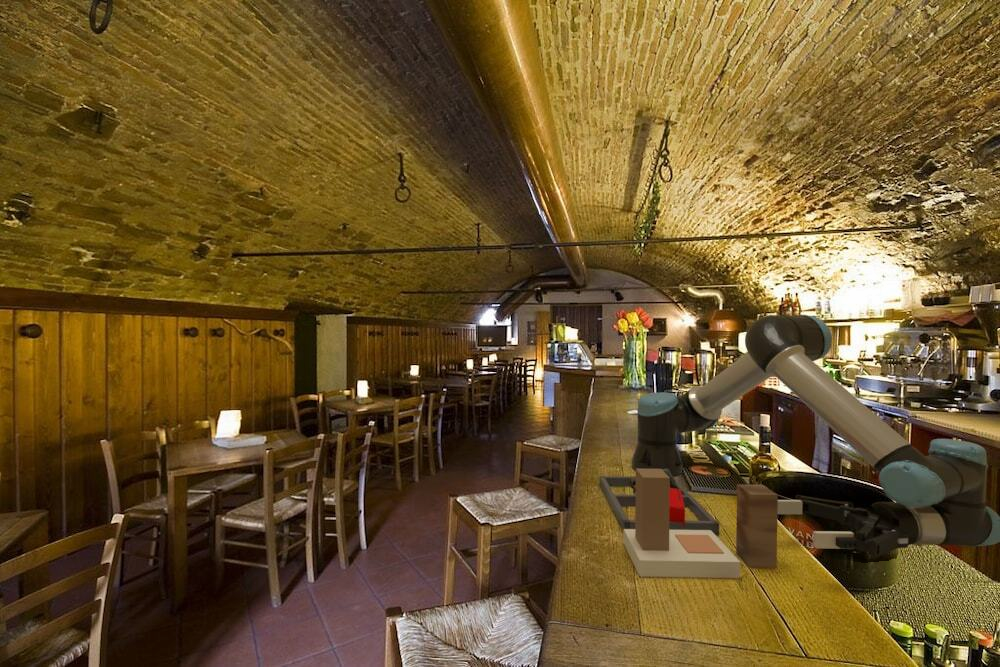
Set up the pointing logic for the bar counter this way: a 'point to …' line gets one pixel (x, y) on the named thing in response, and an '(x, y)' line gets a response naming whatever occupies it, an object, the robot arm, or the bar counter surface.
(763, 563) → the walnut pillar
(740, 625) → the bar counter surface
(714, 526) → the charcoal tray rim
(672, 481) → the chocolate cake
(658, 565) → the base board
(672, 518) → the french fries container
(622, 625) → the bar counter surface
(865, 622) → the bar counter surface
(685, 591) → the bar counter surface
